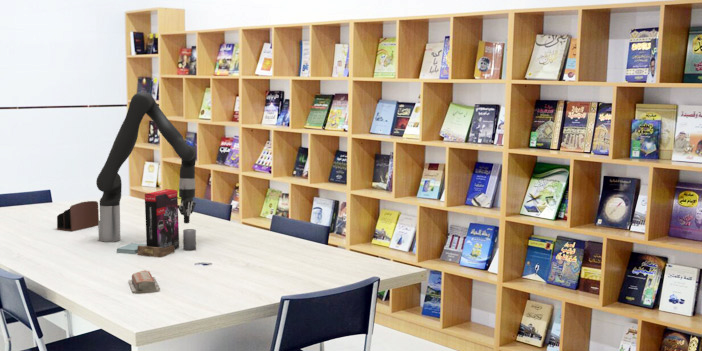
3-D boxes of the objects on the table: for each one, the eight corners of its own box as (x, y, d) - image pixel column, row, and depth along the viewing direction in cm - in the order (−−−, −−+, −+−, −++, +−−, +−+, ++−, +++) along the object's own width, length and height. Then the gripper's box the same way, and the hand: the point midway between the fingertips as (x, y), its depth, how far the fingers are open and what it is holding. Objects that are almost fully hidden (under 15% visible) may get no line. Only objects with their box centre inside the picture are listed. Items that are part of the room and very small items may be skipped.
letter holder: (99, 225, 405) (98, 199, 403) (71, 232, 387) (70, 204, 385) (84, 224, 409) (84, 198, 407) (56, 230, 391) (56, 203, 389)
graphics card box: (157, 255, 338) (157, 194, 335) (144, 253, 341) (143, 193, 338) (179, 247, 354) (179, 189, 351) (167, 246, 357) (166, 188, 353)
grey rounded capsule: (181, 250, 349) (180, 230, 348) (187, 247, 355) (187, 228, 354) (191, 251, 348) (191, 231, 347) (198, 248, 353) (198, 229, 352)
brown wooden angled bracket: (137, 254, 338) (137, 246, 338) (152, 249, 349) (151, 241, 348) (160, 257, 334) (160, 248, 334) (174, 252, 345) (174, 243, 344)
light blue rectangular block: (116, 253, 342) (116, 248, 342) (132, 248, 354) (132, 242, 354) (134, 255, 340) (134, 250, 339) (149, 249, 352) (149, 244, 352)
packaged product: (160, 279, 280) (132, 282, 276) (160, 292, 280) (132, 295, 277) (154, 268, 296) (127, 270, 293) (154, 280, 297) (128, 282, 293)
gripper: (187, 185, 370) (187, 220, 373) (172, 188, 358) (172, 224, 360) (201, 186, 368) (200, 221, 370) (186, 189, 356) (186, 226, 358)
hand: (186, 223), depth 365 cm, fingers closed
